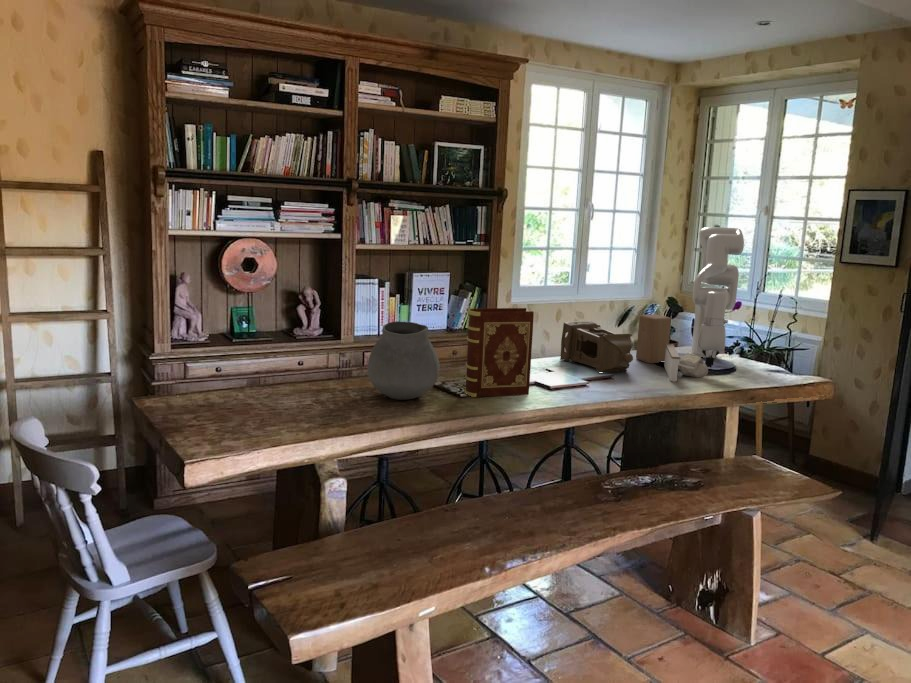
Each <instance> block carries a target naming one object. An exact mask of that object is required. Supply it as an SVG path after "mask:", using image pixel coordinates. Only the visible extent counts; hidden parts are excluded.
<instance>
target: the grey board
mask: <svg viewBox="0 0 911 683" xmlns="http://www.w3.org/2000/svg"><path fill="white" fill-rule="evenodd" d="M680 357H681V356H680V355H679V353H678V351H677V349H676V347H675V345H674V344H673V343H669V344H666V353H665V362H663V365H664V366H663V367H664V369H665V372H666V374H667V378H668V379H669V381H670V382H677V381H678V380H677V379H678V370H679V369H678V363H679V359H680Z"/></svg>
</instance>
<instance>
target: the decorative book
mask: <svg viewBox="0 0 911 683" xmlns="http://www.w3.org/2000/svg"><path fill="white" fill-rule="evenodd" d="M534 312H535V311H533V310H532V311H529V310H528V311H527V308H526V307H515V308H514V307H511V308H510V307H503V308H502V307H501V308H500V307H498V308H497V307H496V308H495V307H492V308H489V307H488V308H486V307H483V308H481V307H480V308H478V307H477V308H472V307H471V308H470V307H469V308H468V310H467V314H468V324H467V329H468V332H467V336H466V340H467V354H466V355H467V356H466V362H465V368H466V374H465V375H464V378H465V388H464V394H465V393H467V394H468V395H470V396H471V398H477V397H479V398H481V397H482V398H483V397H508V396H526V395H527V396H528V395H529V393H530V381H531V380H530V379H531V368H532V365H531V364H532V349H533V336H534V334H533V333H534V332H533V331H534V315H535V314H534ZM470 396H469V397H470Z"/></svg>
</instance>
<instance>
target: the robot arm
mask: <svg viewBox="0 0 911 683" xmlns="http://www.w3.org/2000/svg"><path fill="white" fill-rule="evenodd" d="M699 243H700V246H701V250H702V261H701V270H700V271H699V272H698V273H697V274H696V276H695V279H694V281H693V287H692V288H693V290H692V302H693V304H694V305H695V306H694V308H695V309H694V310H695V311H694V321H693V322H694V323H693V331H692V341H691V349H690V350H688V351H687V354H686V355H691V356H697V357H703V358H702V359H704V364H705V365H706V366H707V367H708V368H712V366H713V365H714V361H715V358H717V356H719V355H721V354H722V355H723V354H725V348H726V325H725V324H728V322H729V321H728V319H726V318H725V317H726V316H725V313H726V311H730V310H732V309H734V307H735V306H736V302H737V294H738V286H739V284H738V283H739V276H740V275H739V274H740V273H739V269H738V267H737V266H736V265H734V264H728V258H729V255H733V256H734V255H735V256H737V255H741V254H742V253H743V251H744V247H745V239H744V235H743V231H742V229H741V228H738V227H736V228H735V227H724V226H723V227H721V226H707V227H706V226H705V227H702V228H701V229H700V231H699ZM701 284H705V285H708V286H703V287H701ZM709 285H710V286H722V287H710V286H709ZM723 287H724V288H723ZM725 287H726V288H725Z"/></svg>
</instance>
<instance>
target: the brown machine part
mask: <svg viewBox="0 0 911 683" xmlns="http://www.w3.org/2000/svg"><path fill="white" fill-rule="evenodd" d="M561 333H562V335H561V338H560V340H561V341H560V357H559V358H560V359H559V360H560V361H565V362H566V361H567V362H569V361H570V363H573V364H574V363H577V362H578V363H580V364H582V365H587V366H590V367H593V368H595V371H597V372H608V373H614V372H615V373H616V372H623V371H626V372H627V370H628V369H629V367H630V366H631V365H630V363H632V362H633V360H634V356H633V354H632V353H631V351H632V349H633V347H634V343H633V341H632V338H631V337H632V336H633V334H632V333H616V332H614V331H611V330H610V329H609V330H608V329H606V328H603V327H601V325H599V324H598V323H596V322H595V321H593V320H581V321H580V320H577V321H567V322H563V326H562V332H561ZM566 334H567V335H566Z"/></svg>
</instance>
